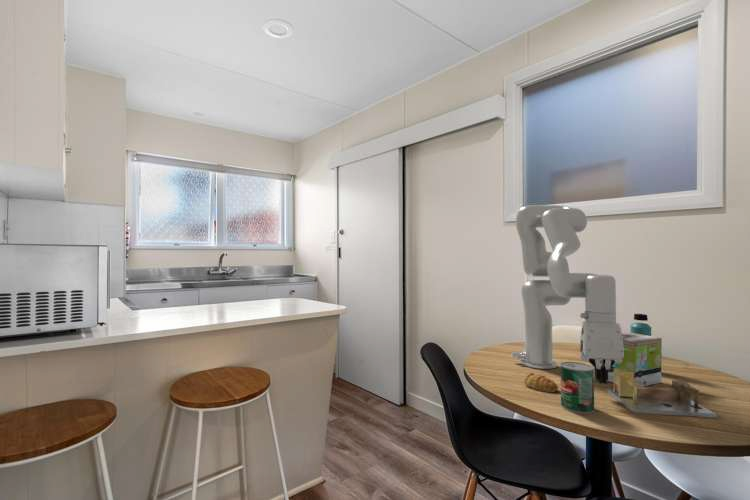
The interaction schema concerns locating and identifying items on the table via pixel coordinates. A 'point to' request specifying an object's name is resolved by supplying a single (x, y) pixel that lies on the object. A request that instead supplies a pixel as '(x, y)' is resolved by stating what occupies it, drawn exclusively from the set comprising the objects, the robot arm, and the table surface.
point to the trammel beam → (668, 392)
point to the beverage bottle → (641, 325)
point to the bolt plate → (663, 406)
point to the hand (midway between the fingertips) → (601, 382)
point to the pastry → (540, 383)
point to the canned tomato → (577, 387)
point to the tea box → (640, 358)
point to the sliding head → (625, 383)
